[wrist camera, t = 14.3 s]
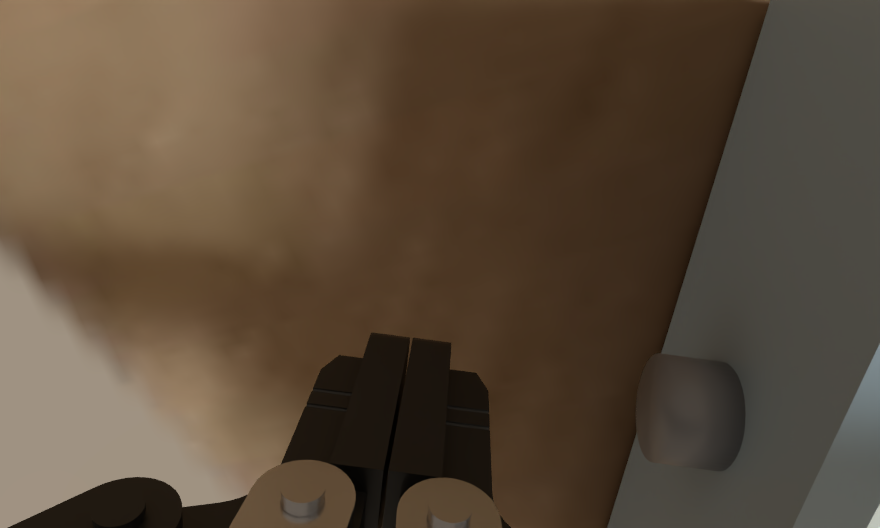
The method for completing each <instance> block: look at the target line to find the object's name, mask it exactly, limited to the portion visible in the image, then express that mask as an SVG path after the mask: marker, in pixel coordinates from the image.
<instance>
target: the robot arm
mask: <svg viewBox="0 0 880 528" xmlns="http://www.w3.org/2000/svg"><path fill="white" fill-rule="evenodd" d="M409 344H410V338H409V337H402V336H394V335H387V334H379V333H371V335H370V338H369V341H368V344H367V347H366V350H365V354H364V357H363V358H357V357H349V356H341V355H339V356H337V357H336V358H335V359H334V360H332V361H331V362H330V363H329V364H327V365H326V366H325V367H323V368H322V369H321V371H320V373H319V376H318V378H317V380H316V383H315V385H314V387H313V391H312V392H311V394H310V397H309V399H308V402H307V406H306V407H305V409H304V411H303V413H302V416H301V418H300V420H299V423H298V425H297V427H296V430H295V432H294V435H293V437H292V439H291V442H290V444H289V446H288V449H287V451H286V453H285V456H284V458H283V461H282V463H281V465H278V466H276V467H274V468H272V469H270V470H268V471H267V472H266V473H264V474H263V475H262V476H261V477H260V478H259V479H258V480H257V481H256V482H255V484H254V485H253V487H252V488H251V490H250V492H249V493H248V495H246V496H243V497H241V498H238V499H234V500H231V501H226V502H221V503H214V504H206V505H198V506H190V507H182V502H181V499H180V496H179V495H178V493H177V492H176V490H174V489H173V488H172V487H171V486H170V485H168V484H166V483H165V482H162V481H159V480H156V479H152V478H144V477H142V478H141V477H133V478H125V479H119V480H115V481H111V482H108V483H105V484H102V485H100V486H97V487H95V488H93V489H91V490H88V491H86V492H84V493H82V494H80V495H78V496H75V497H73V498H71V499H69V500H67V501H64V502H62V503H60V504H58V505H56V506H54V507H52V508H49V509H47V510H45V511H43V512H41V513H39V514H37V515H34V516H32V517H30V518H28V519H26V520H23V521H21V522H19V523H17V524H15V525H13V526H11V527H8V528H511V527H510V526H509V525H508V524H507V523H506V522H505V521H504V520H503V518H502V517H501V516H500V514H499V511H498V509H497V507H496V505H495V504H494V501H493V496H492V477H491V451H490V431H489V427H490V425H489V398H488V390H487V388H486V387H485V385H484V384H483V382H482V381H481V379H480V378H479V376H478V375H477V373H472V372H465V371H457V370H450V355H451V343H449V342H441V341H433V340H426V339H418V338H413V341H412V346H411V352H410V357H409V362H408V368H407V361H408V353H409ZM406 370H407V373H406Z"/></svg>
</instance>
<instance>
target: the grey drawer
mask: <svg viewBox="0 0 880 528" xmlns="http://www.w3.org/2000/svg"><path fill="white" fill-rule="evenodd" d="M636 430H637V433H636V436H635V440H634V443H633V446H632V449H631V452H630V456H629V459H628V462H627V465H626V469H625V472H624V475H623V478H622V482H621V485H620V488H619V491H618V494H617V498H616V501H615V504H614V507H613V511H612V514H611V517H610V520H609V524H608V527H607V528H880V0H770V3H769V7H768V10H767V13H766V16H765V19H764V23H763V26H762V29H761V32H760V36H759V39H758V42H757V45H756V49H755V52H754V55H753V58H752V61H751V65H750V68H749V71H748V74H747V78H746V81H745V84H744V87H743V91H742V94H741V97H740V100H739V103H738V107H737V110H736V113H735V116H734V120H733V123H732V126H731V129H730V133H729V136H728V139H727V142H726V145H725V149H724V152H723V155H722V158H721V162H720V165H719V168H718V171H717V175H716V178H715V181H714V184H713V187H712V191H711V194H710V197H709V200H708V204H707V207H706V210H705V213H704V217H703V220H702V223H701V226H700V229H699V233H698V236H697V239H696V242H695V246H694V249H693V252H692V255H691V259H690V262H689V265H688V268H687V271H686V275H685V278H684V281H683V284H682V288H681V291H680V294H679V297H678V301H677V304H676V307H675V310H674V313H673V317H672V320H671V323H670V326H669V330H668V333H667V336H666V339H665V343H664V346H663V349H662V352H661V353H656V354H654V355H653V356H651V357H650V359H649V360H648V361H647V363H646V365H645V367H644V369H643V372H642V375H641V378H640V382H639V386H638V392H637V399H636Z"/></svg>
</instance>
